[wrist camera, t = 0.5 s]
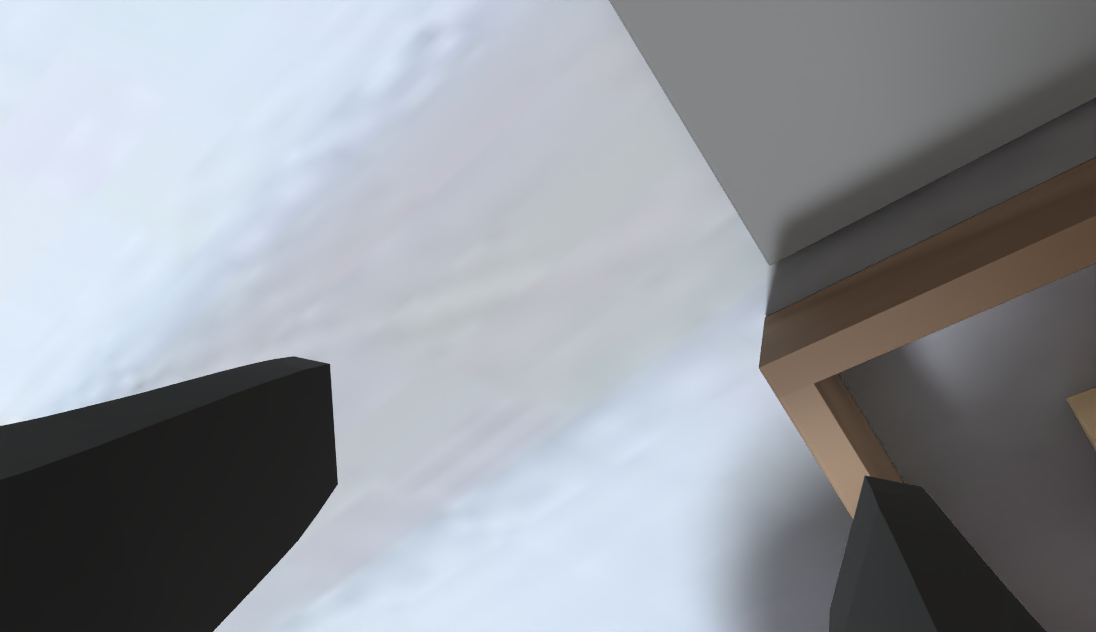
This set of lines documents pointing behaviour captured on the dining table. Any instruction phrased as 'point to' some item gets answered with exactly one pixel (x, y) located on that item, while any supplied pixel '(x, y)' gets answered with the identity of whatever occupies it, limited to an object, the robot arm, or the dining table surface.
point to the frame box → (917, 312)
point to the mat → (856, 95)
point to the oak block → (1085, 412)
